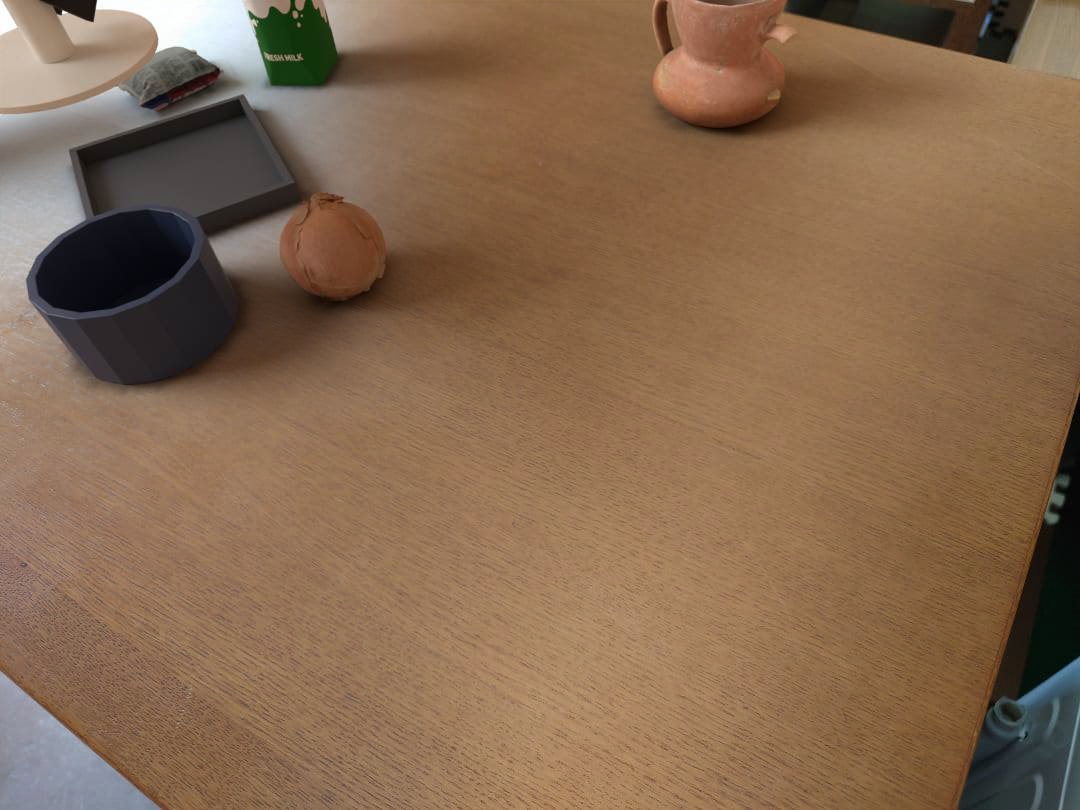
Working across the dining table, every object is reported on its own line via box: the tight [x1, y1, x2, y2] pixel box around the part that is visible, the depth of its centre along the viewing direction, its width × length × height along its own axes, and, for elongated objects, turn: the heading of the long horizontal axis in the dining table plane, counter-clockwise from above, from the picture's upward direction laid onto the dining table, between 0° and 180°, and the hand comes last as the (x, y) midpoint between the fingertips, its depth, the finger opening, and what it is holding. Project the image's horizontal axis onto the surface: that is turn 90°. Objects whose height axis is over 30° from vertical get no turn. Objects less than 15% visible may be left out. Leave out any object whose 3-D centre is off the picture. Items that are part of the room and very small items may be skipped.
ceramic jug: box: [651, 0, 798, 129], centre depth 84 cm, size 18×14×14 cm
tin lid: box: [0, 0, 159, 115], centre depth 59 cm, size 16×16×10 cm
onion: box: [279, 191, 387, 302], centre depth 71 cm, size 10×9×10 cm
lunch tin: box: [25, 204, 240, 385], centre depth 69 cm, size 15×15×8 cm
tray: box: [68, 93, 302, 235], centre depth 86 cm, size 22×21×3 cm
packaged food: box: [115, 46, 225, 111], centre depth 99 cm, size 9×12×5 cm
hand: (76, 0), depth 62 cm, fingers closed on tin lid, 3 cm apart
